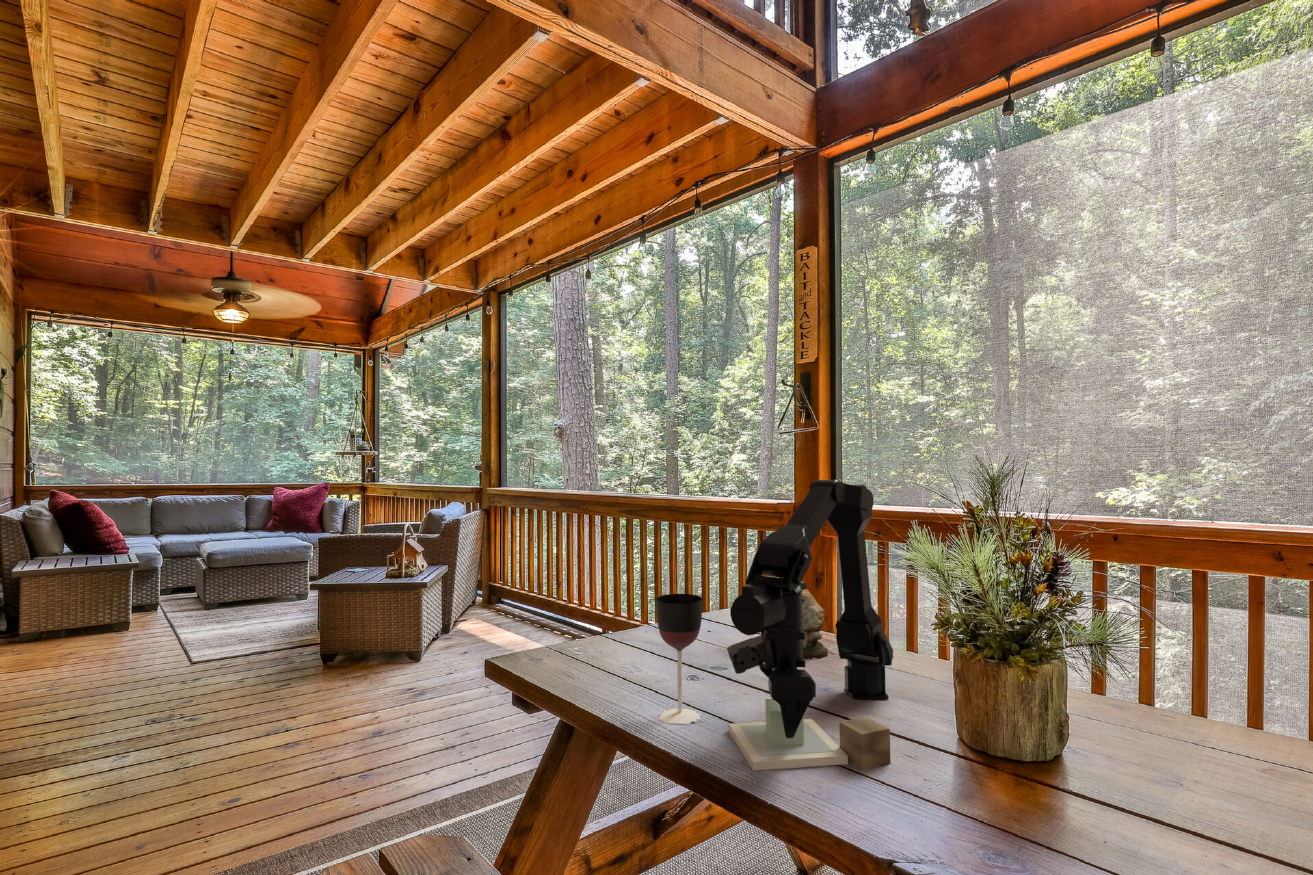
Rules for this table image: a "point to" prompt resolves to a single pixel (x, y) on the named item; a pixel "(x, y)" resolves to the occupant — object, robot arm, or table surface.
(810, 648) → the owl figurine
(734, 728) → the tray
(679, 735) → the table surface
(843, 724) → the walnut cube
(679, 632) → the wineglass
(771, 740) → the sage cube
